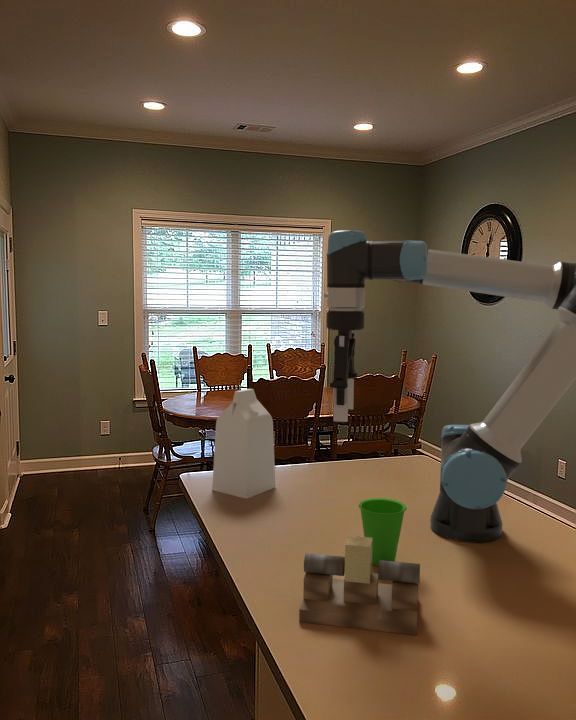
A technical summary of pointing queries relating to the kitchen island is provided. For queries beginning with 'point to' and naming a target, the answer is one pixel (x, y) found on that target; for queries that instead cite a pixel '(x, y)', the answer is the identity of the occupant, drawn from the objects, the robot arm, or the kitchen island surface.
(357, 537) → the wooden block
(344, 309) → the robot arm
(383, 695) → the kitchen island surface
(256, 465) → the milk
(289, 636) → the kitchen island surface
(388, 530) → the cup
